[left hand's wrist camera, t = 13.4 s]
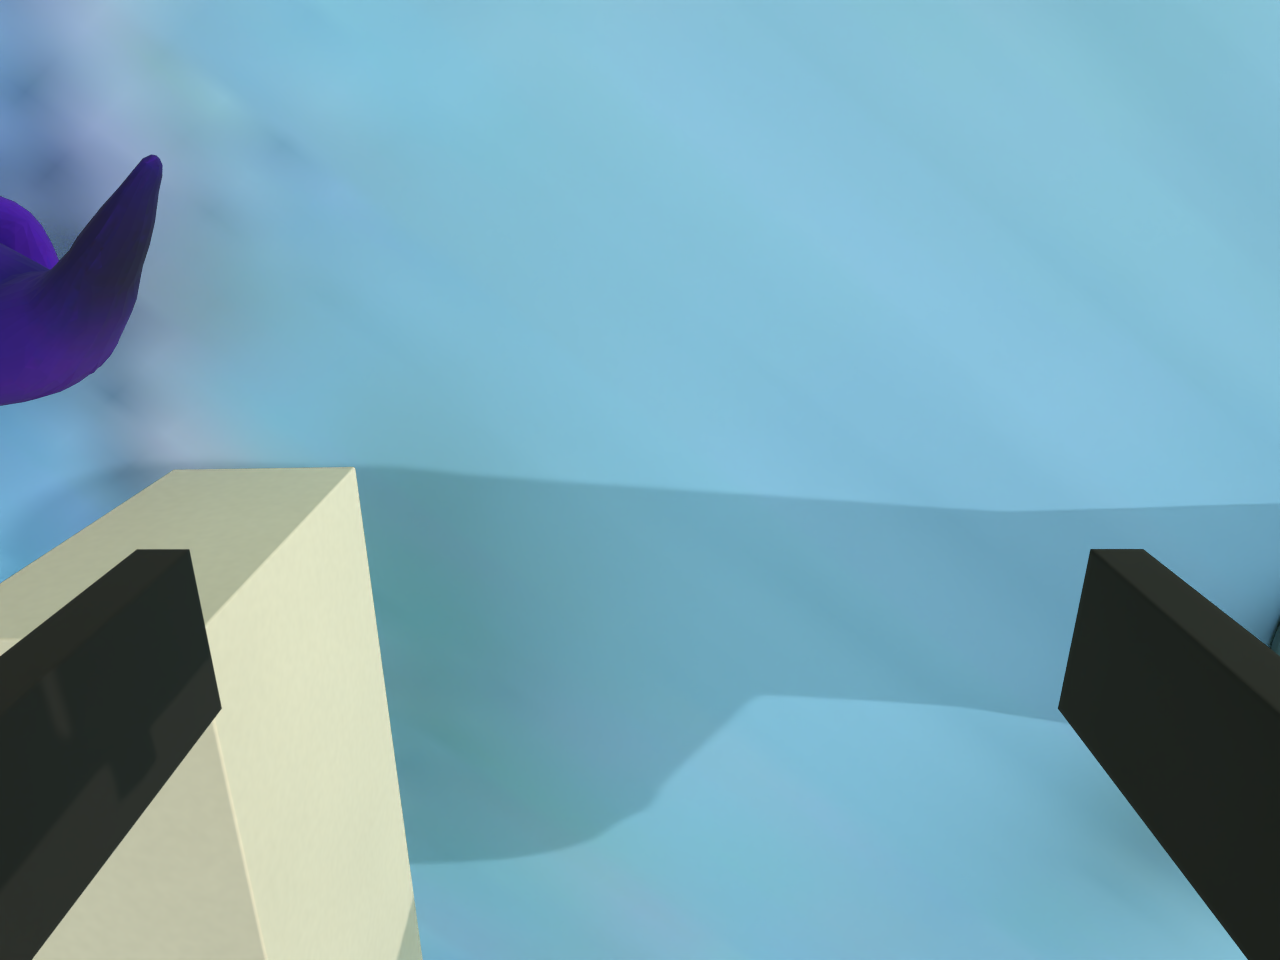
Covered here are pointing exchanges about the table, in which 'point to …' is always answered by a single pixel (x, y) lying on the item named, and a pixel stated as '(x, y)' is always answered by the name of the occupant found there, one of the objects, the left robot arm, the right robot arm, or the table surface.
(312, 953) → the box
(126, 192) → the toy
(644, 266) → the table surface
